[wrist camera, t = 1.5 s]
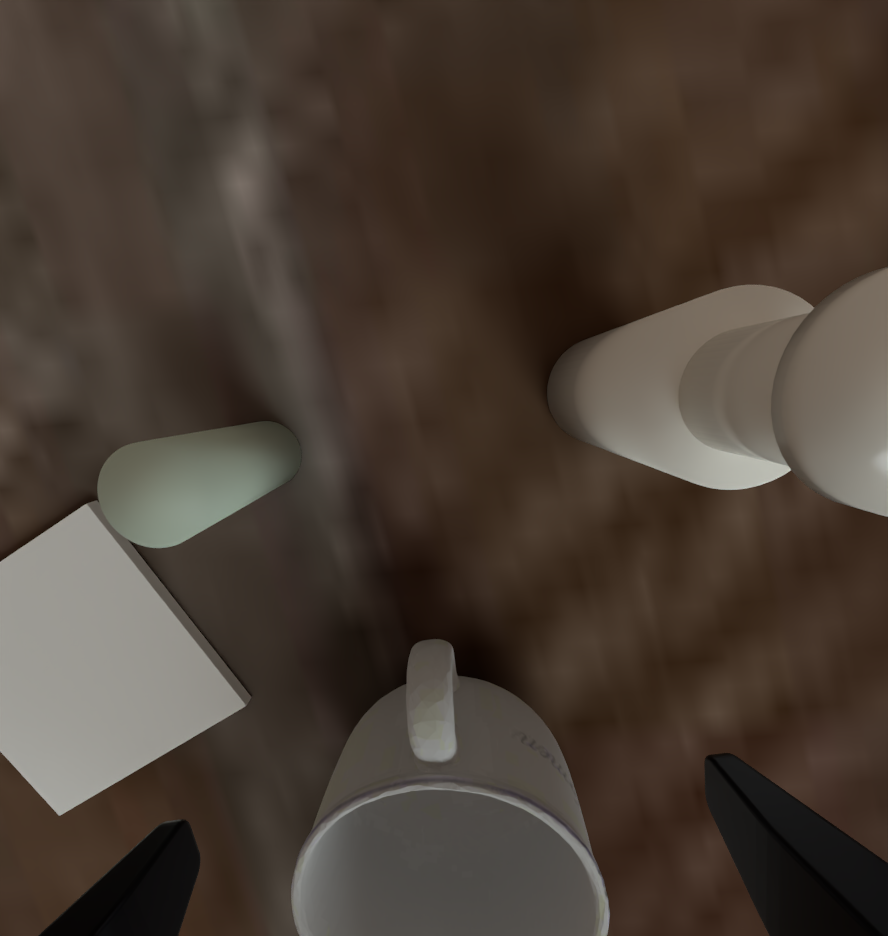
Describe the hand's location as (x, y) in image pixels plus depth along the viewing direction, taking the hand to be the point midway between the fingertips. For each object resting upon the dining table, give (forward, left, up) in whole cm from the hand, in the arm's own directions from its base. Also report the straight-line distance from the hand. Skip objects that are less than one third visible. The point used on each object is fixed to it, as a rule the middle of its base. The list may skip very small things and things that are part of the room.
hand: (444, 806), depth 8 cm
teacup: (-8, +5, -14) cm, 16 cm away
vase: (+2, -9, -13) cm, 17 cm away
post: (+8, +5, -13) cm, 16 cm away
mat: (+4, +19, -13) cm, 23 cm away
